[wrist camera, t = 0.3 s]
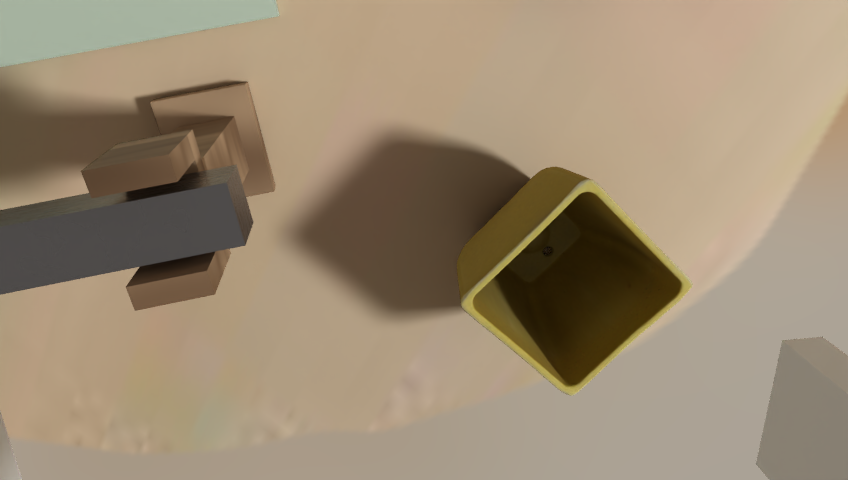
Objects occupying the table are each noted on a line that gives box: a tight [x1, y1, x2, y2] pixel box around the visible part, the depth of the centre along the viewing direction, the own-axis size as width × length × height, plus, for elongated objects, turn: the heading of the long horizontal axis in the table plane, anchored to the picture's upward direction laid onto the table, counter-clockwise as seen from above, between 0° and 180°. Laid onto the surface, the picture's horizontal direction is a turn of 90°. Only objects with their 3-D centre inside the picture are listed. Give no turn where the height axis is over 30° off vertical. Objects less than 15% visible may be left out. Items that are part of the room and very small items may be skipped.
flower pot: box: [457, 167, 693, 395], centre depth 37 cm, size 9×9×9 cm
